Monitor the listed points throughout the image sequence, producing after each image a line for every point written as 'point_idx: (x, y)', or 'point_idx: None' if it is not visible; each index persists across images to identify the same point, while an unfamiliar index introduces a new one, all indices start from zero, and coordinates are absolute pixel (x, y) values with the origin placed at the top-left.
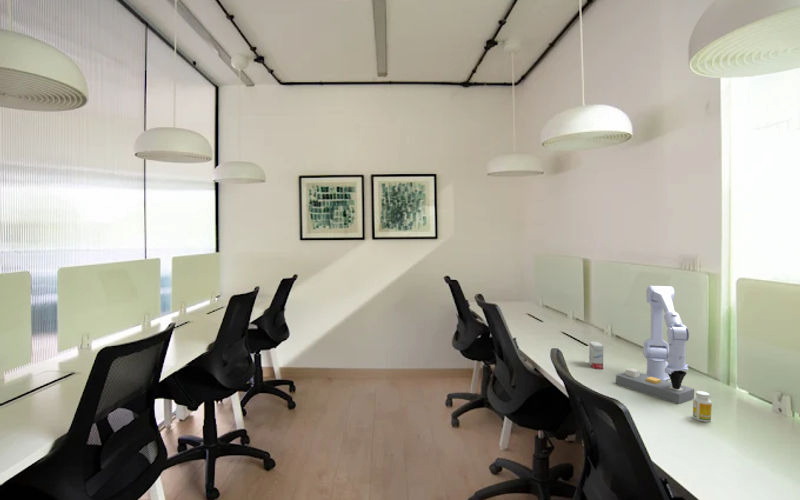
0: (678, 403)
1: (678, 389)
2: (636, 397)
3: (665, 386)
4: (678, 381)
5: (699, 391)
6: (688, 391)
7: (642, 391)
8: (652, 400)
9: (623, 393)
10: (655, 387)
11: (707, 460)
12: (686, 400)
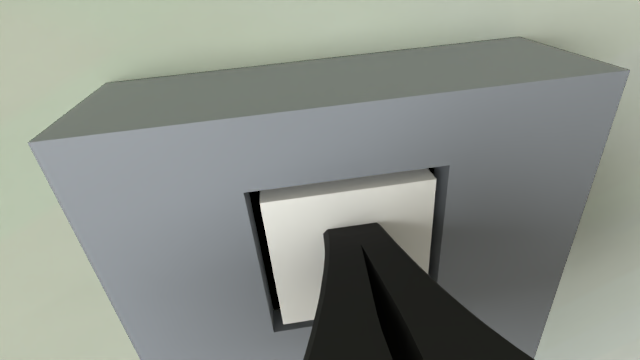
0: (522, 43)
1: (380, 214)
2: (625, 289)
3: None
4: (486, 327)
5: None
6: (280, 108)
7: None
8: (606, 212)
9: (602, 356)
10: (534, 340)
11: None
12: (325, 61)
